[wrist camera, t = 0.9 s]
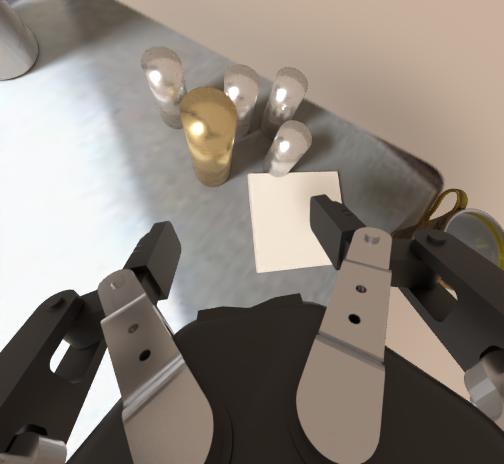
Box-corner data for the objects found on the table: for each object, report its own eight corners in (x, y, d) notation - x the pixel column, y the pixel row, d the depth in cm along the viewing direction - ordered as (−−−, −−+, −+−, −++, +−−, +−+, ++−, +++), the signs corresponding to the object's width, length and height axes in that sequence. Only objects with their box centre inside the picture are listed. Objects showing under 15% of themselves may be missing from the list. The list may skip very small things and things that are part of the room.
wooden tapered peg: (196, 187, 28) (181, 139, 16) (194, 154, 29) (178, 85, 17) (230, 186, 29) (239, 139, 17) (227, 154, 30) (234, 88, 18)
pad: (256, 272, 28) (258, 272, 27) (247, 176, 30) (248, 173, 29) (345, 261, 31) (350, 262, 30) (333, 174, 32) (337, 171, 31)
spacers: (165, 183, 28) (145, 154, 20) (161, 102, 29) (140, 45, 21) (291, 179, 31) (316, 153, 23) (283, 106, 32) (304, 58, 24)
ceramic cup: (428, 283, 33) (518, 295, 23) (374, 284, 31) (446, 297, 21) (421, 206, 34) (503, 186, 25) (369, 202, 33) (434, 180, 23)
